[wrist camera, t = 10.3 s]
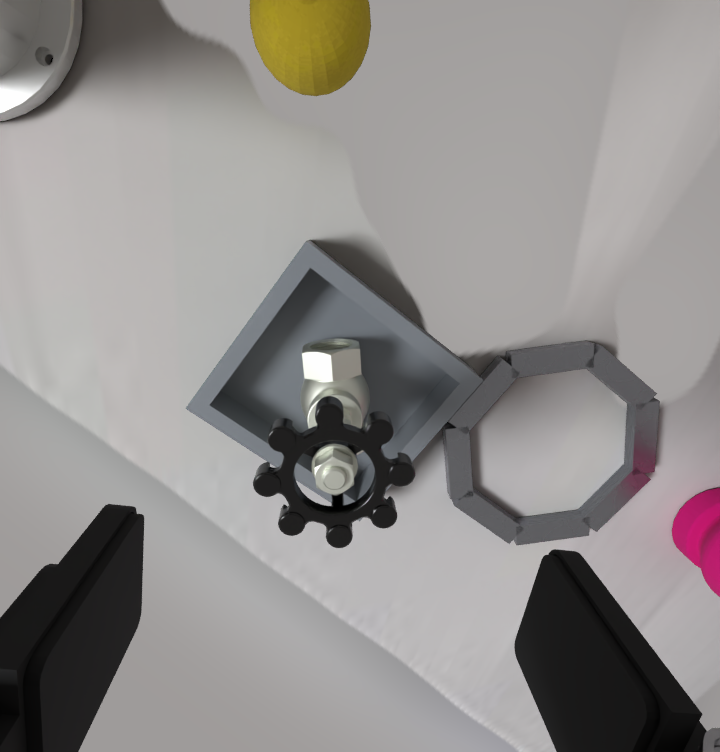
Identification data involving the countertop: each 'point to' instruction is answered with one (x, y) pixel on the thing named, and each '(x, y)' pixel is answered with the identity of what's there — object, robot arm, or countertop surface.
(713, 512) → the pepper mill
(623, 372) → the segmented octagonal ring
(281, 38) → the lemon
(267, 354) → the bin
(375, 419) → the valve
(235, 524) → the countertop surface
